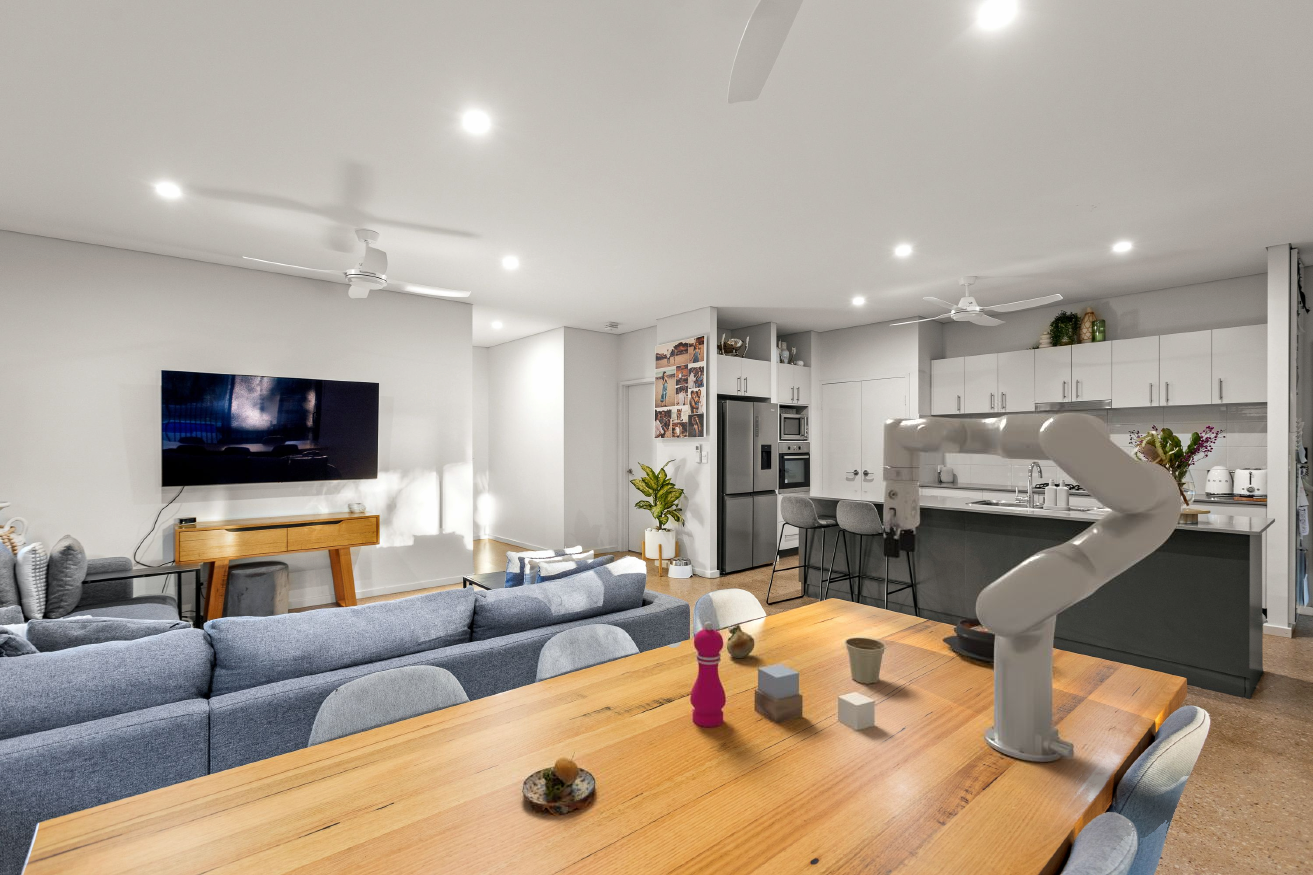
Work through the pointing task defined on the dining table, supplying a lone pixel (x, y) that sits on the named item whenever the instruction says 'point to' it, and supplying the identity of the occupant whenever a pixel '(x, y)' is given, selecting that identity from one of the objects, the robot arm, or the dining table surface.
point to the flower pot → (865, 659)
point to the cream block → (856, 711)
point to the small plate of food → (559, 788)
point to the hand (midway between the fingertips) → (899, 554)
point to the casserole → (972, 640)
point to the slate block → (778, 681)
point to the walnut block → (778, 706)
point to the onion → (739, 643)
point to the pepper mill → (708, 679)
